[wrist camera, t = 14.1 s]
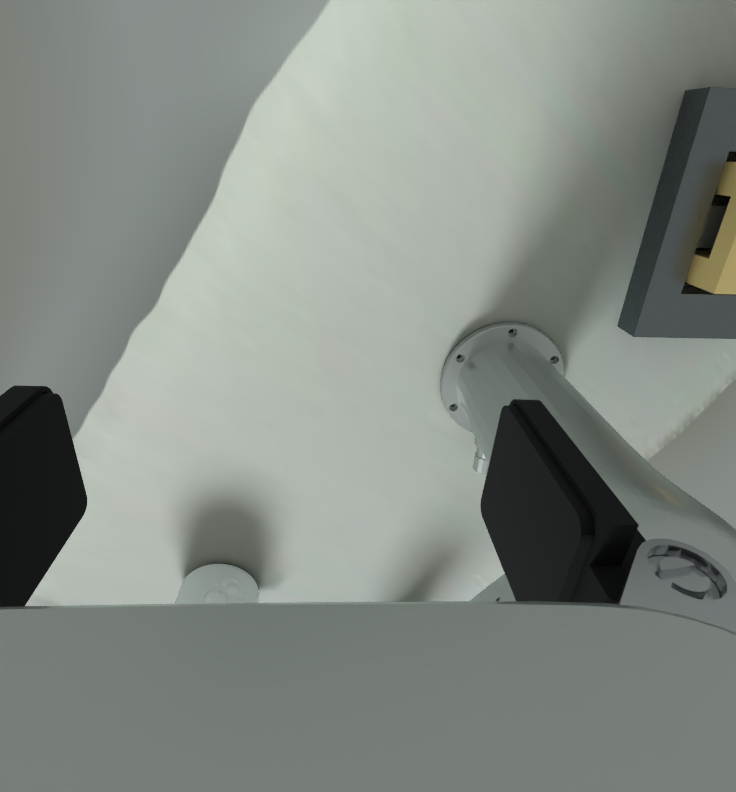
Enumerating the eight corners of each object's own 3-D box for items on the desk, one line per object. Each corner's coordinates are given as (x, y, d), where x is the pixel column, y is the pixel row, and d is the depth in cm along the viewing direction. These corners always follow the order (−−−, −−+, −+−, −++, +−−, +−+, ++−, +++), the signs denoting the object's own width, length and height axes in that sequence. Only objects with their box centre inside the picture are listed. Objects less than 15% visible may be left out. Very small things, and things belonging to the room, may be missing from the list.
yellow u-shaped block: (710, 277, 47) (758, 295, 42) (671, 276, 47) (714, 293, 41) (752, 162, 42) (812, 165, 37) (709, 160, 42) (762, 163, 37)
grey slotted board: (731, 328, 50) (753, 339, 47) (617, 326, 49) (633, 336, 46) (823, 98, 40) (858, 95, 38) (685, 90, 40) (710, 87, 37)
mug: (292, 578, 62) (286, 643, 54) (255, 626, 66) (244, 693, 58) (204, 543, 59) (183, 607, 51) (170, 596, 63) (146, 663, 55)
